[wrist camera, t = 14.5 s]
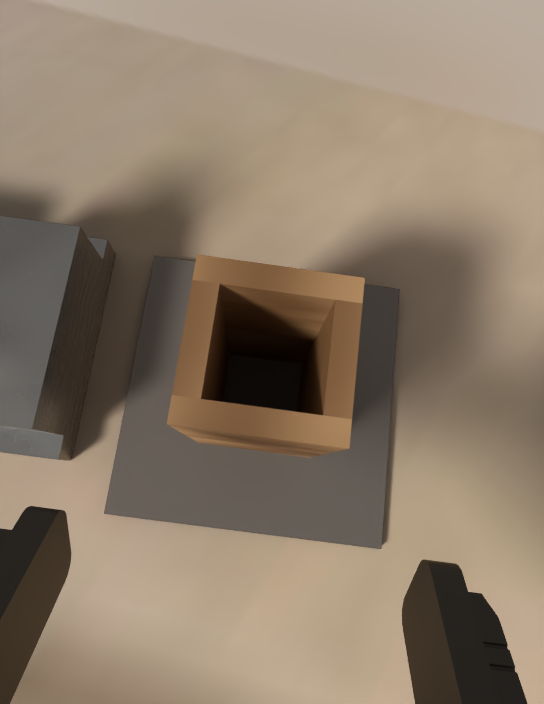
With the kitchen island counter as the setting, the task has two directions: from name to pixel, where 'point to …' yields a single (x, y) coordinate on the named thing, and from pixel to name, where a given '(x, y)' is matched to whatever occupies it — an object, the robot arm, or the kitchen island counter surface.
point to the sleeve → (268, 355)
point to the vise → (47, 331)
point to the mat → (249, 465)
